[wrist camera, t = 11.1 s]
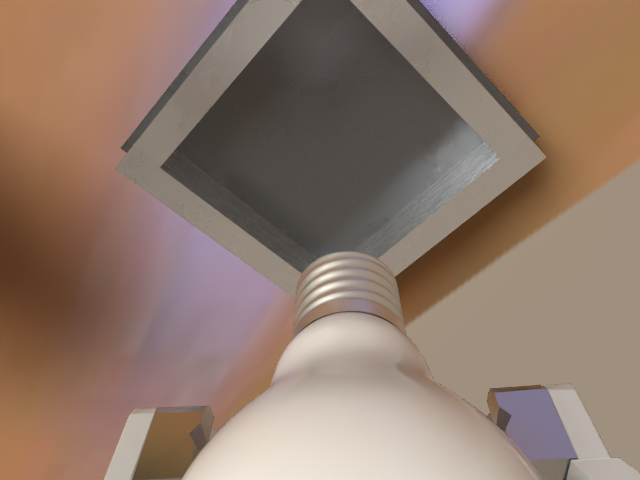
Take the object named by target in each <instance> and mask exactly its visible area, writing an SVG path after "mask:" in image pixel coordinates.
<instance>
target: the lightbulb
mask: <svg viewBox="0 0 640 480" xmlns="http://www.w3.org/2000/svg"><path fill="white" fill-rule="evenodd" d="M293 326H294V328H293V334H292V341H291V342H290V343H289V345H288V346H287V348H286V349H285V351H284V352H283V354H282V356H281V358H280V360H279V362H278V364H277V367H276V369H275V372H274V375H273V378H272V380H271V383H270V385H269V387H268V388H267V389H266V390H265V391H264V392H262V393H261V394H260V395H258V396H257V397H256V398H255V399H253V400H252V401H251V402H250V403H248V404H247V405H246V406H245V407H243V408H242V409H241V410H240V411H239V412H238V413H236V414H235V415H234V416H233V417H232V418H231V419H230V420H229V421H228V422H227V423H226V424H224V425H223V426H222V427H221V428H220V429H219V430H218V432H217V433H216V434H215V435H214V436H213V437H212V438H211V439H210V440H209V441H208V443H207V444H206V445H205V446H204V447H203V449H202V450H201V451H200V452H199V454H198V455H197V456H196V458H195V459H194V460H193V462H192V463H191V465H190V466H189V468H188V469H187V471H186V472H185V474H184V475H183V477H182V479H181V480H544V478H543V477H542V475H541V474H540V472H539V471H538V470H537V468H536V467H535V466H534V464H533V463H532V462H531V460H530V459H529V458H528V457H527V456H526V454H525V453H524V452H523V451H522V450H521V449H520V448H519V446H518V445H517V444H516V443H515V442H514V441H513V440H512V439H511V438H510V437H509V436H508V435H507V434H506V433H505V432H504V431H503V430H502V429H501V428H500V427H498V426H497V425H496V424H495V423H494V422H493V421H492V420H490V419H489V418H488V417H487V416H486V415H484V414H483V413H482V412H480V411H479V410H478V409H476V408H475V407H474V406H472V405H471V404H470V403H468V402H467V401H465V400H464V399H462V398H461V397H459V396H458V395H456V394H455V393H453V392H452V391H450V390H449V389H447V388H446V387H444V386H442V385H441V384H439V383H438V382H436V380H435V379H434V377H433V376H432V373H431V372H430V369H429V367H428V365H427V363H426V361H425V359H424V358H423V356H422V354H421V353H420V351H419V350H418V348H417V347H416V345H415V344H414V343H413V342H412V341H411V339H410V338H409V337H408V336H407V334H406V330H405V324H404V320H403V314H402V309H401V303H400V298H399V292H398V287H397V282H396V279H395V277H394V275H393V273H392V272H391V270H390V269H389V268H388V267H387V266H386V265H385V264H384V263H383V262H382V261H380V260H379V259H377V258H375V257H373V256H371V255H368V254H365V253H361V252H355V251H341V252H335V253H331V254H327V255H325V256H322V257H320V258H318V259H317V260H315V261H314V262H312V263H311V264H310V265H309V266H308V267H307V268H306V269H305V270H304V271H303V273H302V274H301V276H300V278H299V280H298V283H297V286H296V297H295V310H294V322H293Z"/></svg>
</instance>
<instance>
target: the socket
mask: <svg viewBox="0 0 640 480" xmlns="http://www.w3.org/2000/svg"><path fill="white" fill-rule="evenodd" d="M538 137H540V136H539V135H538V134H537V133H536V132H535V131H534V130H533V128H532V127H531V126H530V125H529V124H528V123H527V122H526V121H525V119H524V118H523V117H522V116H521V115H520V114H519V113H518V112H517V110H516V109H515V108H514V107H513V106H512V105H511V104H510V103H509V101H508V100H507V99H506V98H505V97H504V96H503V95H502V94H501V92H500V91H499V90H498V89H497V88H496V87H495V86H494V85H493V83H492V82H491V81H490V80H489V79H488V78H487V77H486V76H485V74H484V73H483V72H482V71H481V70H480V69H479V68H478V67H477V65H476V64H475V63H474V62H473V61H472V60H471V59H470V58H469V56H468V55H467V54H466V53H465V52H464V51H463V50H462V49H461V47H460V46H459V45H458V44H457V43H456V42H455V41H454V40H453V38H452V37H451V36H450V35H449V34H448V33H447V32H446V30H445V29H444V28H443V27H442V26H441V25H440V24H439V23H438V21H437V20H436V19H435V18H434V17H433V16H432V15H431V14H430V12H429V11H428V10H427V9H426V8H425V7H424V6H423V5H422V3H421V2H420V1H419V0H237V1H236V3H235V4H234V5H233V6H232V8H231V9H230V10H229V12H228V13H227V14H226V15H225V17H224V18H223V19H222V20H221V22H220V23H219V24H218V25H217V27H216V28H215V29H214V31H213V32H212V33H211V34H210V36H209V37H208V38H207V39H206V41H205V42H204V43H203V45H202V46H201V47H200V48H199V50H198V51H197V52H196V53H195V55H194V56H193V57H192V58H191V60H190V61H189V62H188V64H187V65H186V66H185V67H184V69H183V70H182V71H181V72H180V74H179V75H178V76H177V77H176V79H175V80H174V81H173V83H172V84H171V85H170V86H169V88H168V89H167V90H166V91H165V93H164V94H163V95H162V96H161V98H160V99H159V100H158V102H157V103H156V104H155V105H154V107H153V108H152V109H151V110H150V112H149V113H148V114H147V116H146V117H145V118H144V119H143V121H142V122H141V123H140V124H139V126H138V127H137V128H136V129H135V131H134V132H133V133H132V135H131V136H130V137H129V138H128V140H127V141H126V142H125V143H124V145H123V146H122V147H121V149H123V150H124V151H125V152H127V154H126V155H125V156H124V158H123V159H122V160H121V162H120V163H119V164H118V166H117V167H116V168H115V169H116V170H117V171H119V172H120V173H121V174H123V175H124V176H126V177H127V178H128V179H130V180H131V181H133V182H134V183H135V184H137V185H138V186H140V187H141V188H142V189H144V190H145V191H146V192H148V193H149V194H151V195H152V196H153V197H155V198H156V199H158V200H159V201H160V202H162V203H163V204H165V205H166V206H167V207H169V208H170V209H172V210H173V211H174V212H176V213H177V214H178V215H180V216H181V217H183V218H184V219H185V220H187V221H188V222H190V223H191V224H192V225H194V226H195V227H197V228H198V229H199V230H201V231H202V232H203V233H205V234H206V235H208V236H209V237H210V238H212V239H213V240H215V241H216V242H217V243H219V244H220V245H222V246H223V247H224V248H226V249H227V250H228V251H230V252H231V253H233V254H234V255H235V256H237V257H238V258H240V259H241V260H242V261H244V262H245V263H247V264H248V265H249V266H251V267H252V268H253V269H255V270H256V271H258V272H259V273H260V274H262V275H263V276H265V277H266V278H267V279H269V280H270V281H272V282H273V283H274V284H276V285H277V286H278V287H280V288H281V289H283V290H284V291H285V292H287V293H288V294H290V295H291V296H292V297H294V298H295V297H296V286H297V283H298V280H299V278H300V276H301V274H302V273H303V271H304V270H305V269H306V268H307V267H308V266H309V265H310V264H311V263H312V262H314V261H315V260H317V259H318V258H320V257H322V256H325V255H327V254H331V253H335V252H341V251H355V252H361V253H365V254H368V255H371V256H373V257H375V258H377V259H379V260H380V261H382V262H383V263H384V264H385V265H386V266H387V267H388V268H389V269H390V270H391V272H392V273H393V275H394V277H395V276H397V275H398V274H399V273H400V272H402V271H403V270H404V269H406V268H407V267H408V266H409V265H411V264H412V263H413V262H414V261H416V260H417V259H418V258H419V257H421V256H422V255H423V254H425V253H426V252H427V251H428V250H430V249H431V248H432V247H433V246H435V245H436V244H437V243H439V242H440V241H441V240H442V239H444V238H445V237H446V236H447V235H449V234H450V233H451V232H452V231H454V230H455V229H456V228H458V227H459V226H460V225H461V224H463V223H464V222H465V221H466V220H468V219H469V218H470V217H471V216H473V215H474V214H475V213H477V212H478V211H479V210H480V209H482V208H483V207H484V206H485V205H487V204H488V203H489V202H491V201H492V200H493V199H494V198H496V197H497V196H498V195H499V194H501V193H502V192H503V191H504V190H506V189H507V188H508V187H510V186H511V185H512V184H513V183H515V182H516V181H517V180H518V179H520V178H521V177H522V176H524V175H525V174H526V173H527V172H529V171H530V170H531V169H532V168H534V167H535V166H536V165H537V164H539V163H540V162H541V161H543V160H544V159H545V158H546V156H545V155H544V154H543V152H542V151H541V150H540V149H539V148H538V147H537V145H536V144H535V143H534V141H535V140H536V139H537V138H538Z"/></svg>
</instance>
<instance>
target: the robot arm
mask: <svg viewBox="0 0 640 480" xmlns="http://www.w3.org/2000/svg"><path fill="white" fill-rule="evenodd" d="M487 403H488V407H489V410H490V414H488V416H487V417H488V418H489V419H490V420H492V421H493V422H494V423H495V424H496V425H497V426H498V427H500V428H501V429H502V430H503V431H504V432H505V433H506V434H507V435H508V436H509V437H510V438H511V439H512V440H513V441H514V442H515V443H516V444H517V445H518V446H519V448H520V449H521V450H522V451H523V452H524V453H525V454H526V456H527V457H528V458H529V459H530V460H531V462H532V463H533V464H534V466H535V467H536V468H537V470H538V471H539V472H540V474H541V475H542V477H543V478H544V480H640V472H638V471H637V470H636V469H634V468H633V467H632V466H630V465H629V464H628V463H626V462H624V460H622V459H621V458H611V457H610V455H609V453H608V451H607V449H606V447H605V445H604V443H603V442H602V439H601V437H600V436H599V434H598V432H597V430H596V428H595V426H594V424H593V422H592V420H591V418H590V416H589V414H588V412H587V410H586V409H585V407H584V405H583V403H582V401H581V399H580V397H579V395H578V393H577V391H576V389H575V388H574V387H573V386H572V385H571V384H555V385H543V386H541V385H533V386H519V387H506V388H491V389H490V390H489V392H488V399H487ZM213 419H214V416H213V413H212V411H211V408H210V406H192V407H161V408H141V409H134V410H133V411H132V413H131V414H130V415H129V416H128V419H127V421H126V424H125V427H124V429H123V432H122V434H121V437H120V439H119V442H118V445H117V447H116V450H115V452H114V455H113V457H112V460H111V462H110V465H109V468H108V470H107V473H106V475H105V478H104V480H181V479H182V477H183V475H184V474H185V472H186V471H187V469H188V468H189V466H190V465H191V463H192V462H193V460H194V459H195V458H196V456H197V455H198V454H199V452H200V451H201V450H202V449H203V447H204V446H205V445H206V444H207V443H208V441H209V440H210V439H211V438H212V437H213V436H214V435H215V434H216V433H217V432H218V431H216V430H215V429H213V428H212V424H213Z"/></svg>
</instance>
